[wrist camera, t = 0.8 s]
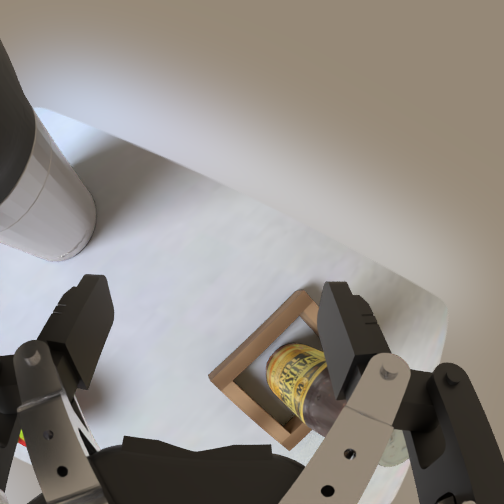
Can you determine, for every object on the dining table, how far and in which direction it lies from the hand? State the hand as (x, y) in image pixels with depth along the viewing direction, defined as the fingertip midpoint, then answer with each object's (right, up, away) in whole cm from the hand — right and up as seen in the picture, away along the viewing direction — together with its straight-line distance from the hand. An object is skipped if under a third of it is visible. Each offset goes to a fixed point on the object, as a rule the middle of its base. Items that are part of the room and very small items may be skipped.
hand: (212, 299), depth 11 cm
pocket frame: (+5, -11, +22) cm, 25 cm away
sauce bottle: (+5, -11, +22) cm, 26 cm away
